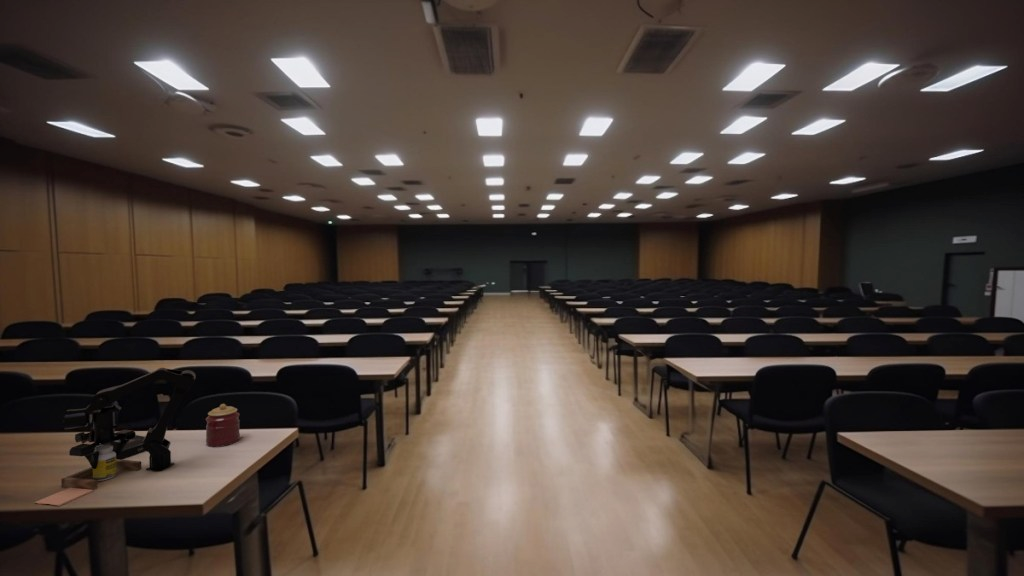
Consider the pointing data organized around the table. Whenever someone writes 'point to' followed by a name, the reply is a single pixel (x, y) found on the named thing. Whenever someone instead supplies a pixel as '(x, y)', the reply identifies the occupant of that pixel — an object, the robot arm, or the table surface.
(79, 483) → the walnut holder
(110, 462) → the pill bottle
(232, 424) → the canister
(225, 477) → the table surface
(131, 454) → the portable cd player
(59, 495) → the terracotta mat
